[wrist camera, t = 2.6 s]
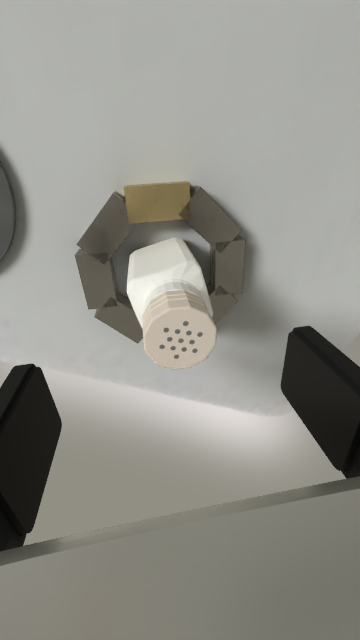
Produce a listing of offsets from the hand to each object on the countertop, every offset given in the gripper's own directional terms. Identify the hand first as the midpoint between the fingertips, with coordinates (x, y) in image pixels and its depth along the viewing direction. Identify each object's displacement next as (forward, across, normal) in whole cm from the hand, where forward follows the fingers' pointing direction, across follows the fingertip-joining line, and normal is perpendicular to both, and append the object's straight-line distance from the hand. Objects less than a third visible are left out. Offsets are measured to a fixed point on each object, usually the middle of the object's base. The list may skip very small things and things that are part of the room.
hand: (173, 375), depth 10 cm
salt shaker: (+11, -1, -1) cm, 11 cm away
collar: (+11, -1, -1) cm, 11 cm away
